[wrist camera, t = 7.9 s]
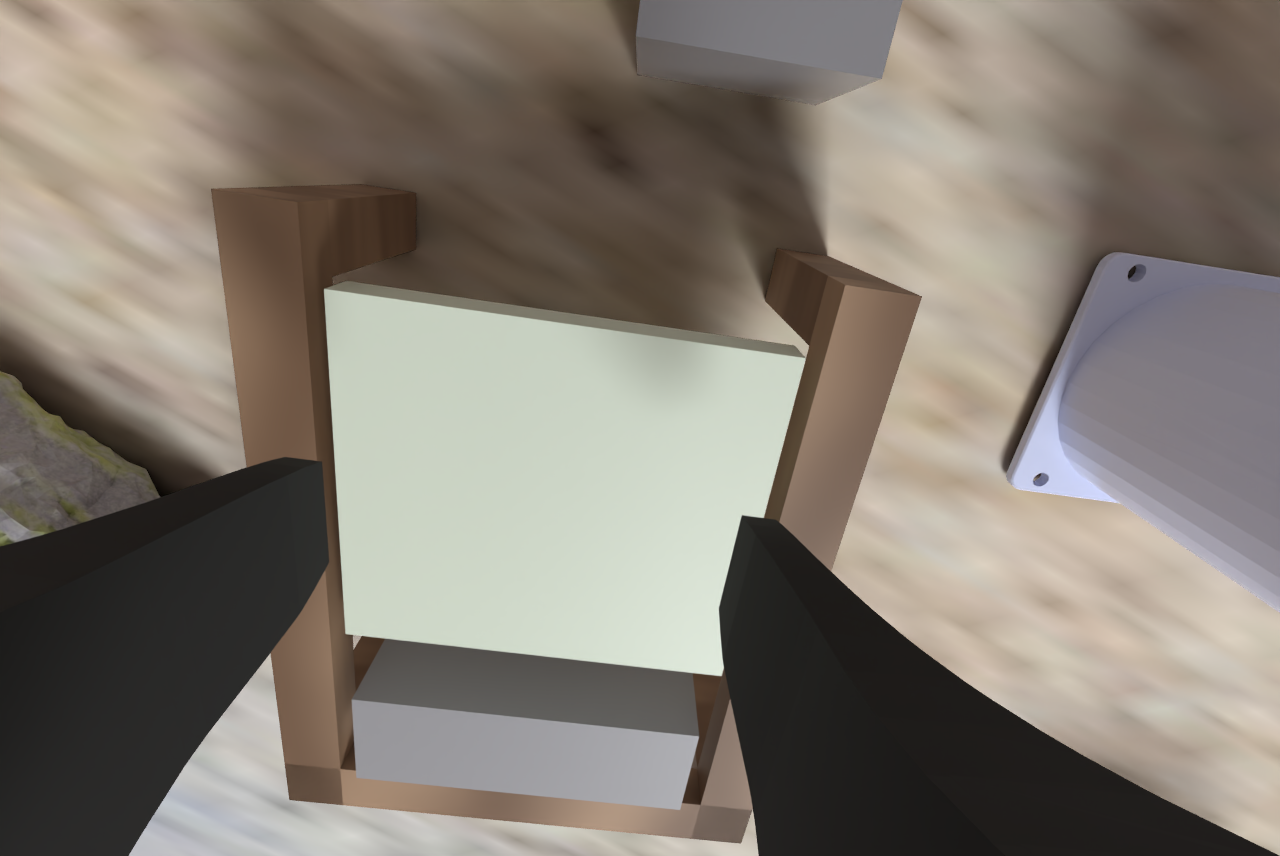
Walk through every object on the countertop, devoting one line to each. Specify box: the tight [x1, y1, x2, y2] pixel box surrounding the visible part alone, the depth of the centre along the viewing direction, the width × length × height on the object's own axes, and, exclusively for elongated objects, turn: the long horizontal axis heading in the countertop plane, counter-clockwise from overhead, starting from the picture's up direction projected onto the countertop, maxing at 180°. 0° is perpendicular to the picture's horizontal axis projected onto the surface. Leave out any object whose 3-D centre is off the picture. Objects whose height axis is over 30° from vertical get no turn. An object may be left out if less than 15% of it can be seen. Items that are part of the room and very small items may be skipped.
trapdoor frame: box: [211, 184, 922, 843], centre depth 18 cm, size 14×17×6 cm
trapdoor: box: [324, 281, 806, 810], centre depth 15 cm, size 14×10×2 cm
